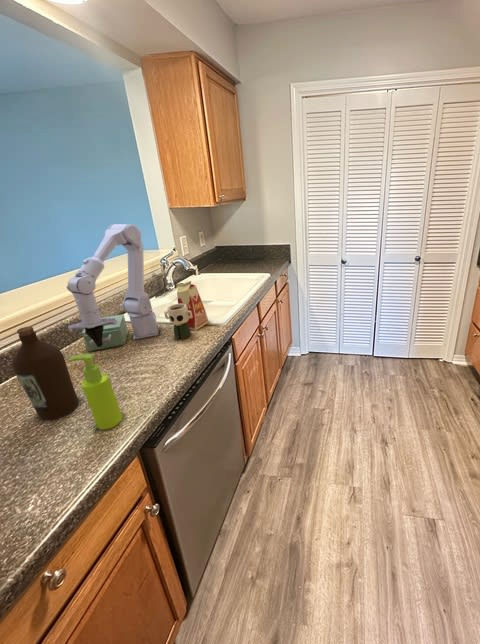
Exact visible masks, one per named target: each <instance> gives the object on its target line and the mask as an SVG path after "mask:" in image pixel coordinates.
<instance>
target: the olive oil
mask: <svg viewBox="0 0 480 644" xmlns="http://www.w3.org/2000/svg"><path fill="white" fill-rule="evenodd" d="M16 333H17V334H18V338H19V340H20V343H21V346H20V347H19V349H18V351H17V352H16V353H15V354H14V357H13V359H12V370H13V372H14V374H15V376H16V378H17V379H18V381H19V383H20V385H21V386H22V388H23V390H24V392H25V394H26V395H27V398H28V399H29V401H30V403H31V404H32V407H33V408H34V410H35V412H36V414H37V416H38V417H39V419H41V420H46V421H49V420H55V419H59V418H61V417H63V416H66V415H67V414H70V413H71V412H72V411H74V410H75V409H76V408H77V407H78V405H79V398H78V396H77V393H76V390H75V387H74V384H73V381H72V378H71V374H70V372H69V369H68V365H67V362H66V359H65V355H64V353H63V352H62V351H61V350H60V349H59V348H58V347H57V346H56V345H53V344H51V343H49V342H45V341H43V340H41V339H39V338H38V335H37V332H36V331H35V330H34V327H33V326H23V327H21V328H18V329H17V330H16Z"/></svg>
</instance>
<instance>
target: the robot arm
mask: <svg viewBox="0 0 480 644" xmlns="http://www.w3.org/2000/svg"><path fill="white" fill-rule="evenodd" d="M116 246H122V247H123V248H124V249H125V250H126V251H127V280H128V281H127V287H128V289H127V291H126V292H125V294H124V295H123V297H124V299H123V301H122V304H121V307H122V310H123V311H124V312H125V313H127V316H128V317H129V321H130V324H131V327H132V331H133V336H132V340H138V339H144V338H149V337H155V336H159V324H158V321H157V316H156V314H155V311H153V312H150V310H151V306H152V303H151V300H150V301H149V299H150V296H149V295H148V293H147V292H146V291H145V278H144V277H145V274H144V270H145V267H144V259H145V258H144V244H143V241H142V231H141V230H140V229H139V228H138V227H137V226H136V225H135V224H133V223H128V224H126V223H124V224H123V223H119V224H118V223H111V224H110V225H109V226H108V227H107V229H106V230H105V231H104V237H103V238H102V240H101V242H100V244H99V246H98V247H97V248H96V251H95V252H94V254H93V256H92V257H91V256H89V257H87V258H85V259H83V261H82V265H81V266H80V267H79V269H78V271H76V272H75V273H74V274H75V275H73V276H72V277H70V278H69V279H68V281H67V286H66V289H67V291H68V292H70V293H71V294H72V296H73V298H74V301H75V304H76V307H77V310H78V313H79V315H80V319H81V322H78V323H74V324H69V325H68V328H67V329H68V331H69V333H73V332H75V331H81V330H82V331H83V330H84V329H85V333H86V334H87V335H88V336H89V337H90V338H91V339H92V340H93V341H94V342H95V344H96V345H97V347H102V345H103V343H102V334H103V328H104V326H106V325H112V324H113V325H116V324H117V320H116V318H109V319H101V318H102V316H101V313H100V310H99V309H100V308H99V306H98V302H97V300H96V296H95V293H94V291H95V290H96V282H97V280H98V278H99V276H100V275H101V273H102V272H103V270H104V269H105V264H104V262H105V261H106V259H107V258H108V257H109V256H110V254H111V253H112V252H113V251H114V249H115V248H116ZM146 293H147V294H146ZM135 298H136V299H135Z"/></svg>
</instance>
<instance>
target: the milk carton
mask: <svg viewBox="0 0 480 644" xmlns="http://www.w3.org/2000/svg"><path fill="white" fill-rule="evenodd" d="M175 285H176V286H177V289H176V296H177V304H185V305H186V306H187V311H192V316H193V318H189V320H188V321H187V324H188V326H189V329H190V331H197V330H199V329H200V328H202V327H204V326H205V325H207V324H208V323H210V321H209V317H208V315H207V312H206V308H205V306H204V303H203V300H202V298H201V295H200V293H199V290H198V288H197V285H196V284H193V283H192V280H190V281H187V282H184V283H176V284H175ZM188 316H190V313H188Z"/></svg>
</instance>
